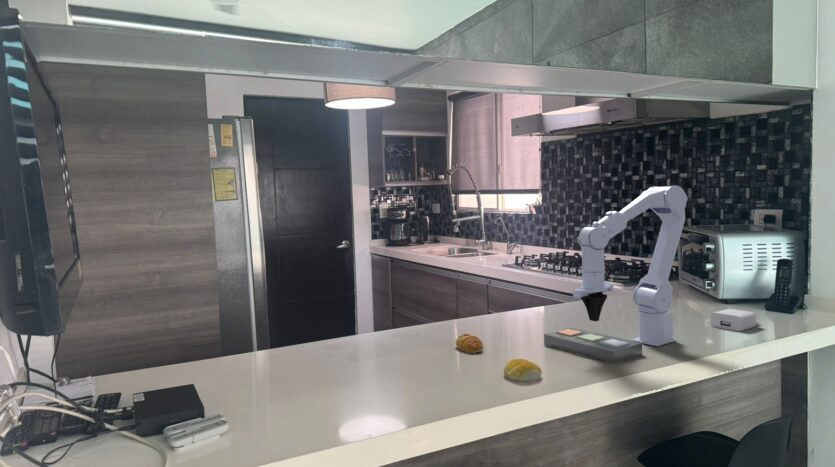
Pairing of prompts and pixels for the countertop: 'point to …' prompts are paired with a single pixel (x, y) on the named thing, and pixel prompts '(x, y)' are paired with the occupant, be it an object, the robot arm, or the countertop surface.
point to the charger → (733, 319)
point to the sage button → (591, 338)
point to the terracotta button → (569, 332)
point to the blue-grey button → (614, 343)
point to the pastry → (469, 343)
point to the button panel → (593, 346)
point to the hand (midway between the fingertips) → (594, 320)
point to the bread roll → (522, 370)
